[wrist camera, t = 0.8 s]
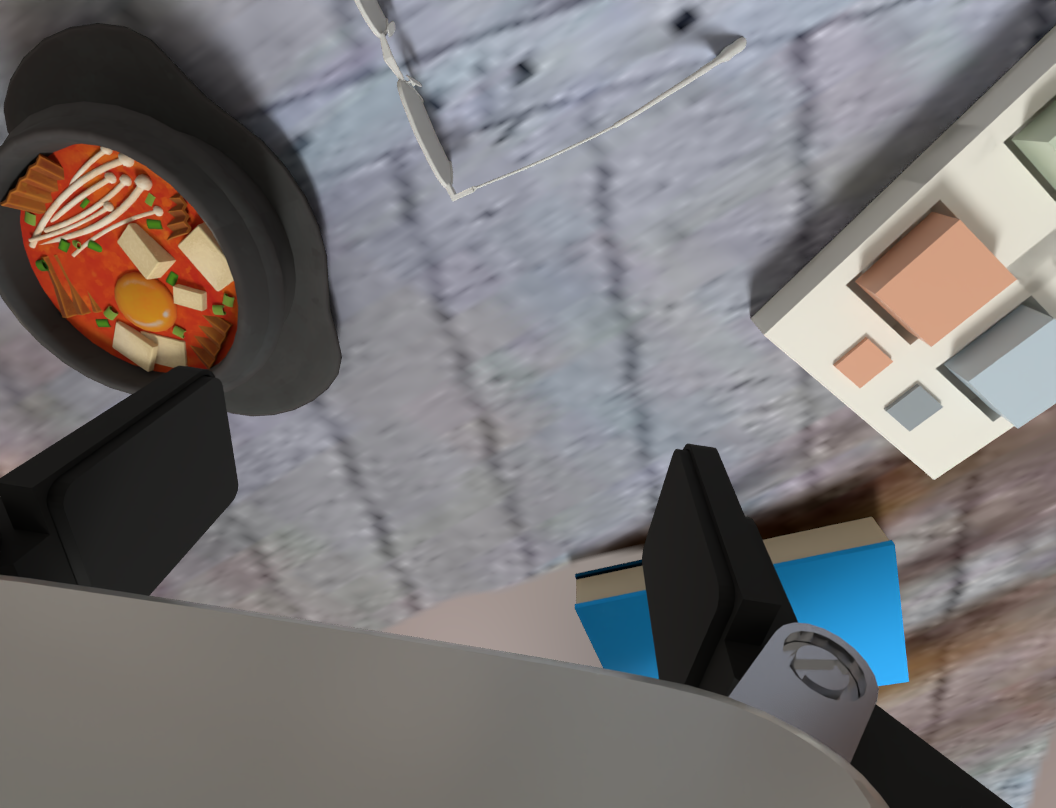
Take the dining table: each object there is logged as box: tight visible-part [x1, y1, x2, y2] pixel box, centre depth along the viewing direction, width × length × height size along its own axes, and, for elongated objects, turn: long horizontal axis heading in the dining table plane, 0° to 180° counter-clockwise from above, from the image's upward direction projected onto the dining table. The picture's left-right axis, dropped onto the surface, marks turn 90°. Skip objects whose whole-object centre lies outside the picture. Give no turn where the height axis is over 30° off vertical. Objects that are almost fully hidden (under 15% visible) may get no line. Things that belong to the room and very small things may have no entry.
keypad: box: [751, 25, 1056, 480], centre depth 32 cm, size 23×17×3 cm
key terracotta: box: [855, 212, 1017, 347], centre depth 31 cm, size 5×5×2 cm
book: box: [575, 517, 909, 686], centre depth 48 cm, size 17×4×25 cm
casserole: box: [0, 23, 342, 416], centre depth 33 cm, size 25×19×8 cm
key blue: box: [944, 304, 1056, 428], centre depth 33 cm, size 5×5×2 cm
